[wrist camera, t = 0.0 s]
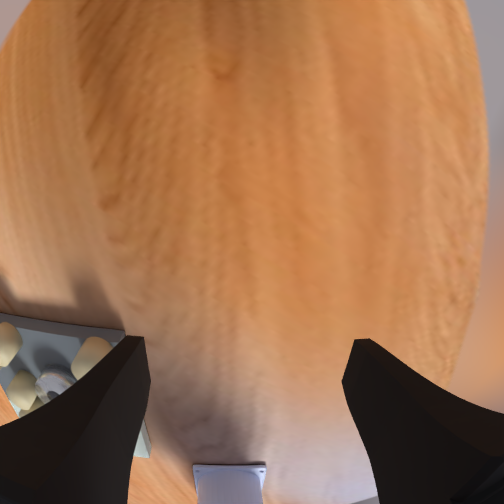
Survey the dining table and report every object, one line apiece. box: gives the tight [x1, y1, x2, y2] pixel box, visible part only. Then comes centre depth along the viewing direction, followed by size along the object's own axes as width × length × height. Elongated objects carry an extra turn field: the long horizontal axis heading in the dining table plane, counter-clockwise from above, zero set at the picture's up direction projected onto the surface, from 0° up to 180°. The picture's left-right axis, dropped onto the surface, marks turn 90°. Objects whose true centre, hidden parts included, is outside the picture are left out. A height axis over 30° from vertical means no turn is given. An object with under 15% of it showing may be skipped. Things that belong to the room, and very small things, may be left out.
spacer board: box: [0, 313, 151, 458], centre depth 21 cm, size 15×15×4 cm
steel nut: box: [35, 364, 78, 404], centre depth 19 cm, size 4×4×2 cm
